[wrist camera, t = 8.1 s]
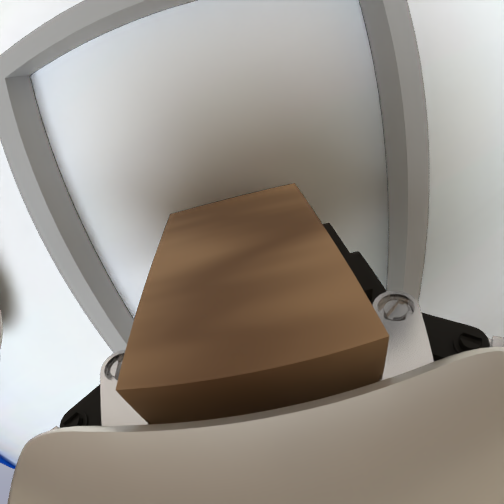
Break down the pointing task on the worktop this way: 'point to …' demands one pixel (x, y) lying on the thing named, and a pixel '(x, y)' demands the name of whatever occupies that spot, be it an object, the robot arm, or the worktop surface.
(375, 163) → the worktop surface
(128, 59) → the worktop surface
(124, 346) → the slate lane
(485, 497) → the robot arm
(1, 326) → the dark grey tall ovoid
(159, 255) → the walnut block
